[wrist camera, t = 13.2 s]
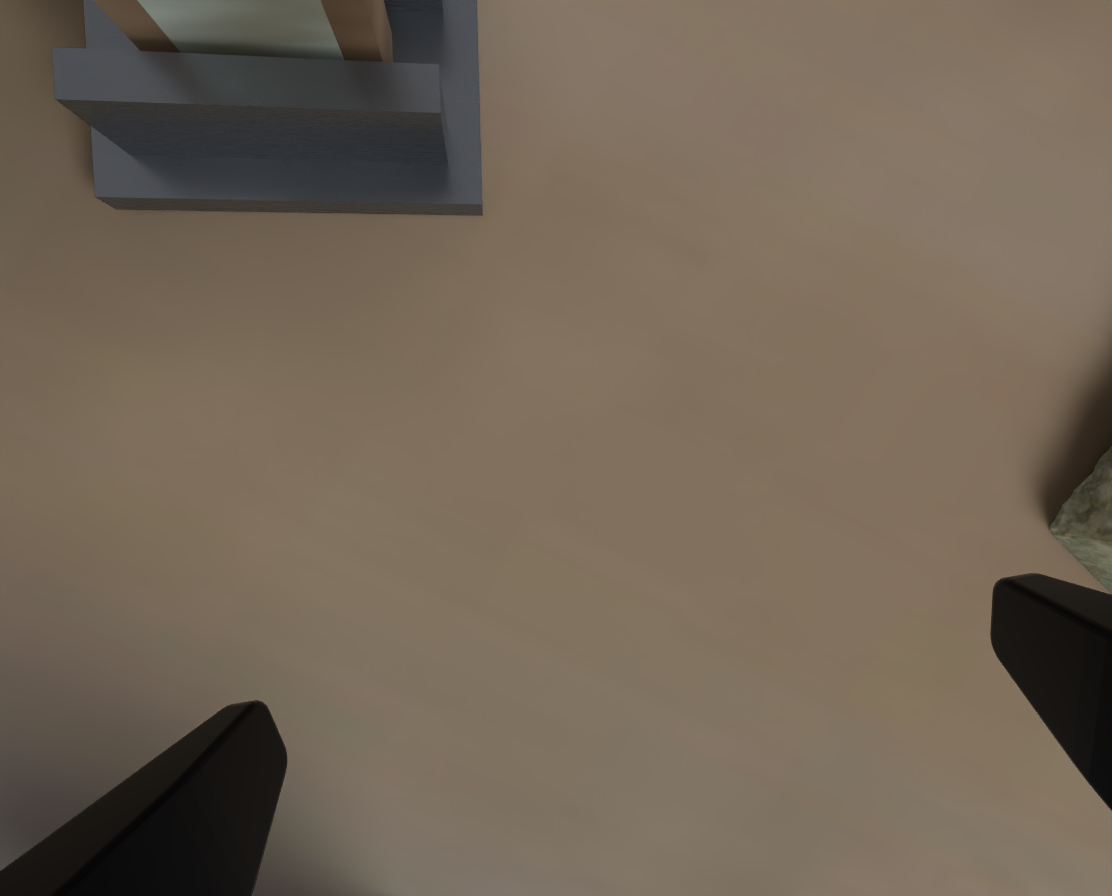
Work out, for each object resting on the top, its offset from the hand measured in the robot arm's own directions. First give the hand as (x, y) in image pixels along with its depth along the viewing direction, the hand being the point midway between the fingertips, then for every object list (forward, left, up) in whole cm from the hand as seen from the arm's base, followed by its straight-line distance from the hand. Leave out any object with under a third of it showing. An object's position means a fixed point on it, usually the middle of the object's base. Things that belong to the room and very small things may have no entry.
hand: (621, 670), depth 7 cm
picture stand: (-4, +15, -13) cm, 20 cm away
